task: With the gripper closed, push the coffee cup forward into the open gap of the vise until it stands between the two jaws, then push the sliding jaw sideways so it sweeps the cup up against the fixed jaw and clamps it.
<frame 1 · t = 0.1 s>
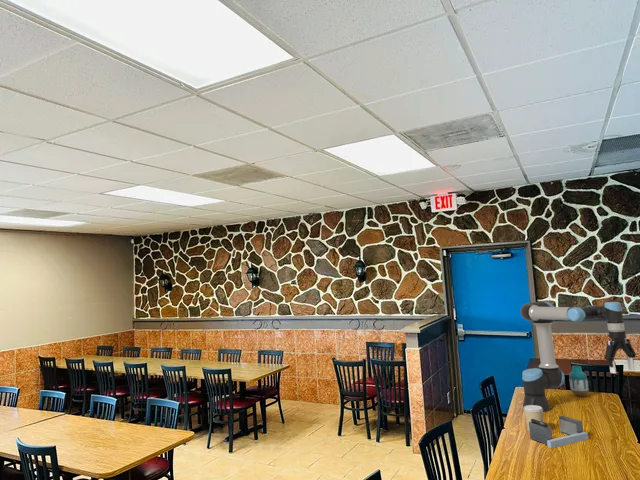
hand: (622, 371, 230), 28 cm above the table, fingers open, 13 cm apart
coffee cup: (535, 431, 230), on the table
vase: (580, 396, 290), on the table
back rail: (568, 443, 210), on the table
sliding jaw: (540, 430, 214), point 5 cm above the table, slide at 0.0 cm
fixed jaw: (572, 435, 220), on the table
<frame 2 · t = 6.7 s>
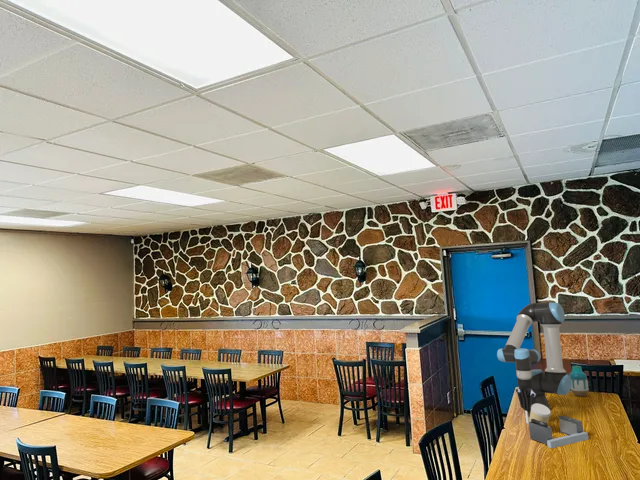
hand: (529, 422, 233), 3 cm above the table, fingers closed
coffee cup: (536, 428, 230), point 1 cm above the table, touching gripper, hand
everything else where it was.
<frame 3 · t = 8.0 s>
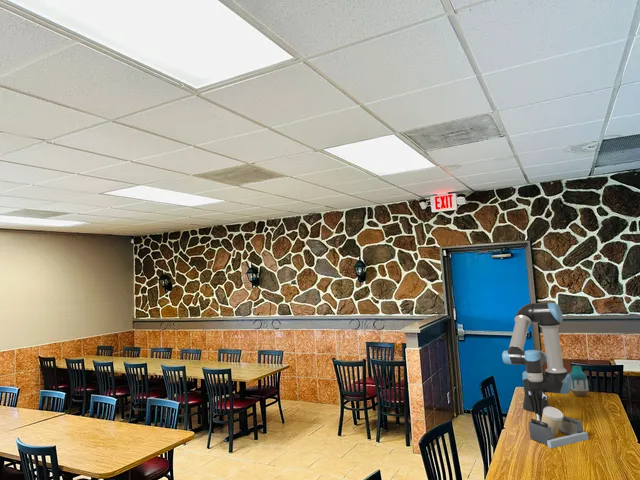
hand: (540, 426, 226), 3 cm above the table, fingers closed
coffee cup: (548, 432, 222), point 1 cm above the table, touching gripper, hand
everything else where it was.
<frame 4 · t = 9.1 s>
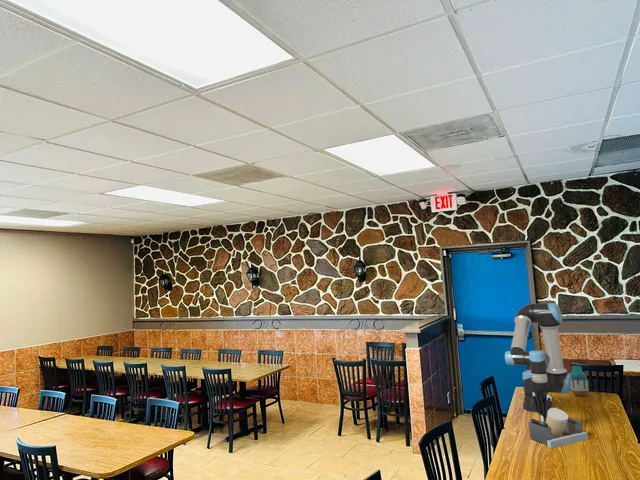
hand: (545, 428, 224), 3 cm above the table, fingers closed
coffee cup: (552, 433, 220), point 1 cm above the table, touching gripper, hand
everything else where it was.
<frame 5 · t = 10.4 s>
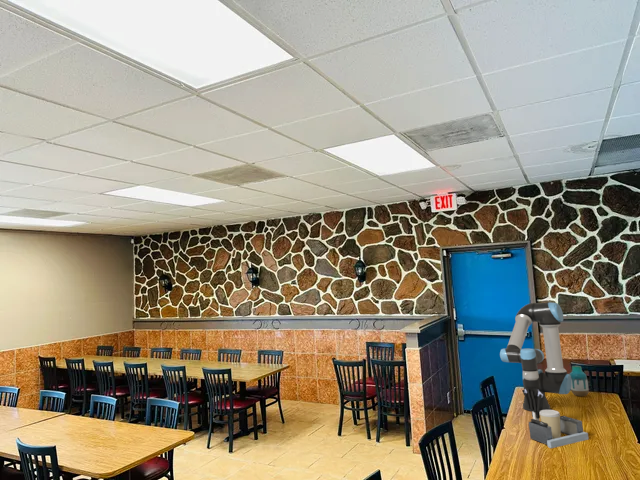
hand: (536, 424, 229), 4 cm above the table, fingers closed
coffee cup: (552, 436, 220), on the table
everything else where it was.
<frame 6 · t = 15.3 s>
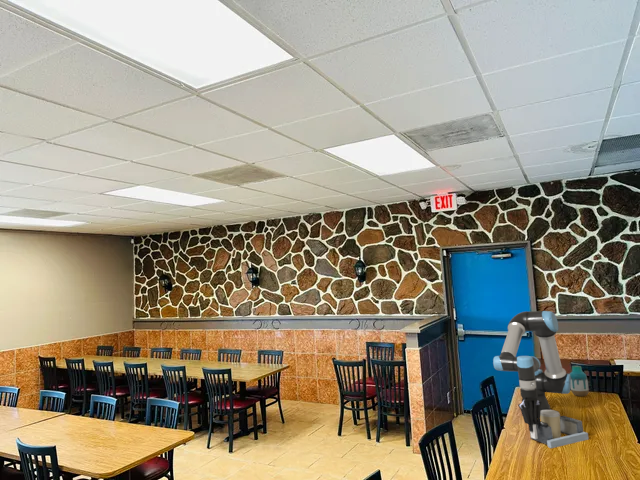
hand: (534, 437, 212), 3 cm above the table, fingers closed
sliding jaw: (540, 430, 214), point 5 cm above the table, slide at 0.1 cm, touching gripper
everything else where it was.
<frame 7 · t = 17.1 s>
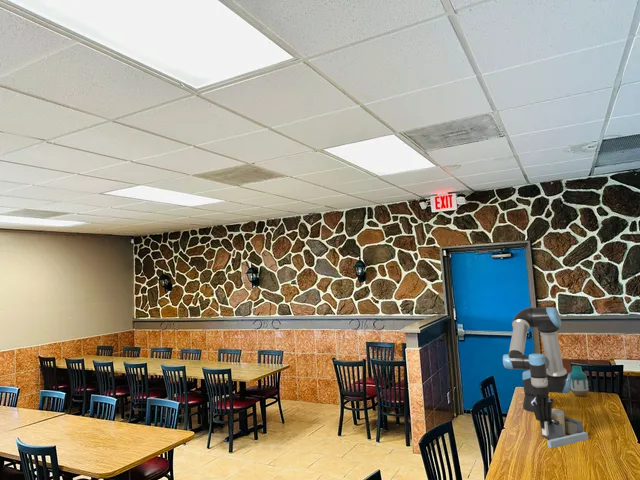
hand: (545, 434, 215), 3 cm above the table, fingers closed
coffee cup: (556, 435, 221), on the table, touching fixed jaw, sliding jaw
sliding jaw: (552, 428, 216), point 5 cm above the table, slide at 7.2 cm, touching coffee cup, gripper
everything else where it was.
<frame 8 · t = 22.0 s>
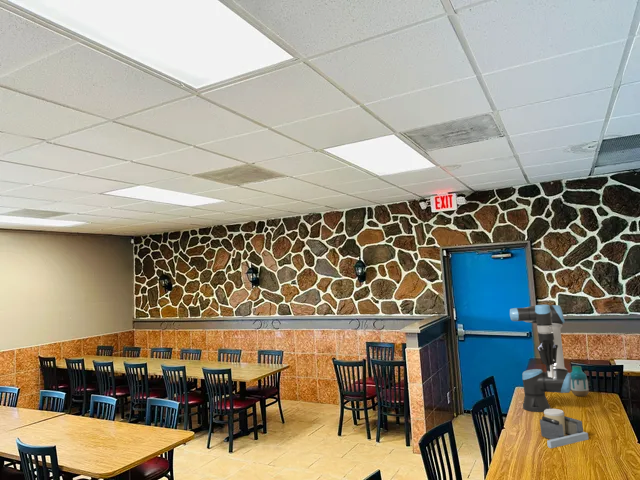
hand: (551, 377, 235), 26 cm above the table, fingers closed
coffee cup: (556, 435, 221), on the table
sliding jaw: (552, 428, 216), point 5 cm above the table, slide at 7.2 cm
everything else where it was.
at the end: coffee cup inside the target area (2.7 cm from its centre), on the table; coffee cup tilted 0°; sliding jaw slide at 7.2 cm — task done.
